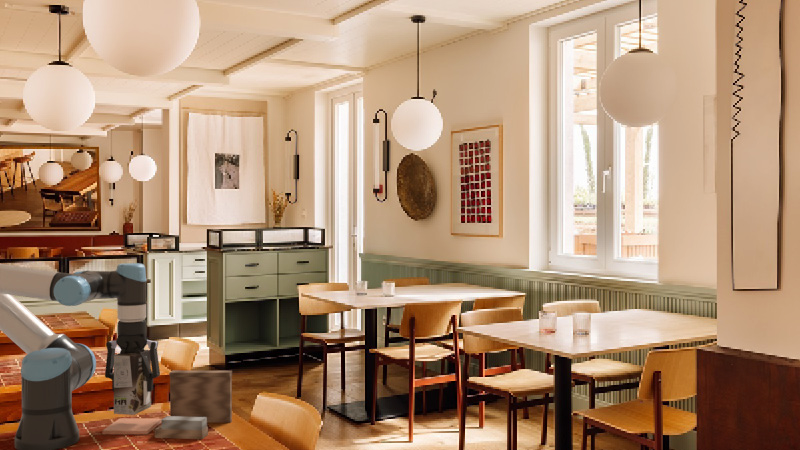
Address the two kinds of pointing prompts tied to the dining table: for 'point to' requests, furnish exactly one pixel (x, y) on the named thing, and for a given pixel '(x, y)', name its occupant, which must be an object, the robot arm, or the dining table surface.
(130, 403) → the coffee box
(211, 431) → the dining table surface
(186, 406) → the brown rectangular wooden panel
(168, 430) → the offcut stack
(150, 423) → the terracotta tile
